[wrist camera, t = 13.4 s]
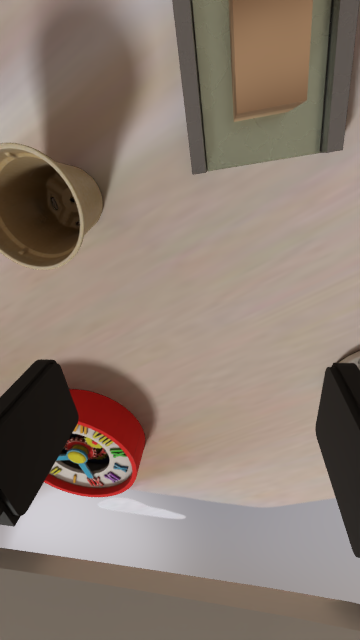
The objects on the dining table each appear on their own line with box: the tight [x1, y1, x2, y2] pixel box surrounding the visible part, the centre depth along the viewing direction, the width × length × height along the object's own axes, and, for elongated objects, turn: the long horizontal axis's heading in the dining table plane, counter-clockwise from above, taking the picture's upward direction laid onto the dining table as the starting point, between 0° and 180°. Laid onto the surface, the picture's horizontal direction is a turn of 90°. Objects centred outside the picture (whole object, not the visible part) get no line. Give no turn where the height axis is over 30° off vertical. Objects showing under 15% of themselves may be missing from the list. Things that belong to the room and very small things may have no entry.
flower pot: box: [0, 143, 103, 270], centre depth 26 cm, size 9×9×9 cm
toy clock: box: [44, 389, 145, 497], centre depth 47 cm, size 20×6×20 cm
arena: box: [172, 0, 359, 174], centre depth 20 cm, size 12×20×2 cm, turn 9°
